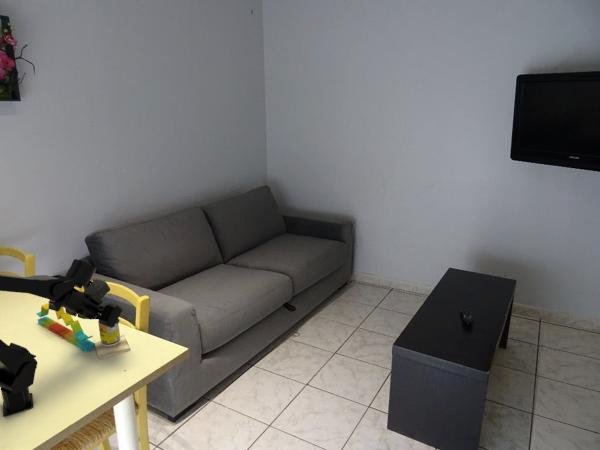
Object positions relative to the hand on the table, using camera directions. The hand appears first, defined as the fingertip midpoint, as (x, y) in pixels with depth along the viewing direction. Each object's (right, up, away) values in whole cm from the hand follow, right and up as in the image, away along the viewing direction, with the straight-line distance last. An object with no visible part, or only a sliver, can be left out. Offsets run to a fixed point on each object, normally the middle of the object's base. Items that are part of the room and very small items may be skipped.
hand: (111, 319), depth 138 cm
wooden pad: (-1, -9, +2) cm, 9 cm away
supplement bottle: (-1, -7, +1) cm, 8 cm away
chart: (-19, -7, +9) cm, 22 cm away
